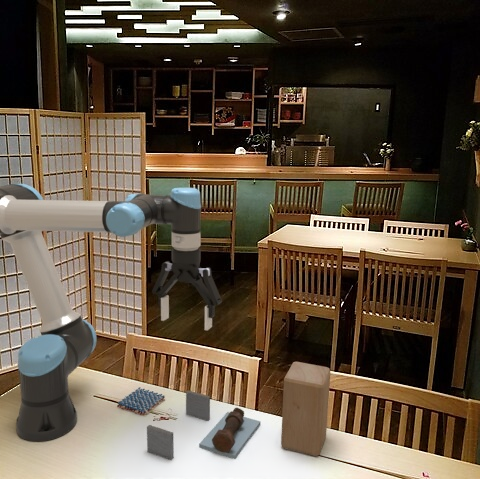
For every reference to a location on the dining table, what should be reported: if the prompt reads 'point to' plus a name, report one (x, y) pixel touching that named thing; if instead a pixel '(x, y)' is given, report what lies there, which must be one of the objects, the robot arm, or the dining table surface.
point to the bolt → (228, 431)
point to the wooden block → (305, 408)
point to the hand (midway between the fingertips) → (186, 323)
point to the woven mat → (141, 401)
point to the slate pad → (239, 436)
